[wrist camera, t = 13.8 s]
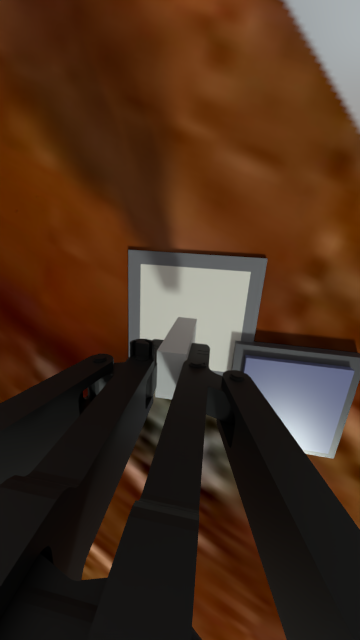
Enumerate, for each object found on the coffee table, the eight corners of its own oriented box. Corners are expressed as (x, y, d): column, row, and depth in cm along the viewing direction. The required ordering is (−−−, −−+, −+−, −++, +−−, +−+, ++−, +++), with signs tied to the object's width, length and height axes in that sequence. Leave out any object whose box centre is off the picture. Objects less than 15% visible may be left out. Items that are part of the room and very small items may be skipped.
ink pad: (222, 431, 25) (222, 444, 23) (235, 339, 22) (236, 346, 20) (327, 448, 23) (336, 463, 22) (357, 352, 20) (371, 361, 19)
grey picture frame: (129, 368, 24) (128, 369, 24) (129, 249, 21) (128, 249, 21) (245, 383, 23) (246, 385, 23) (266, 258, 19) (267, 258, 19)
